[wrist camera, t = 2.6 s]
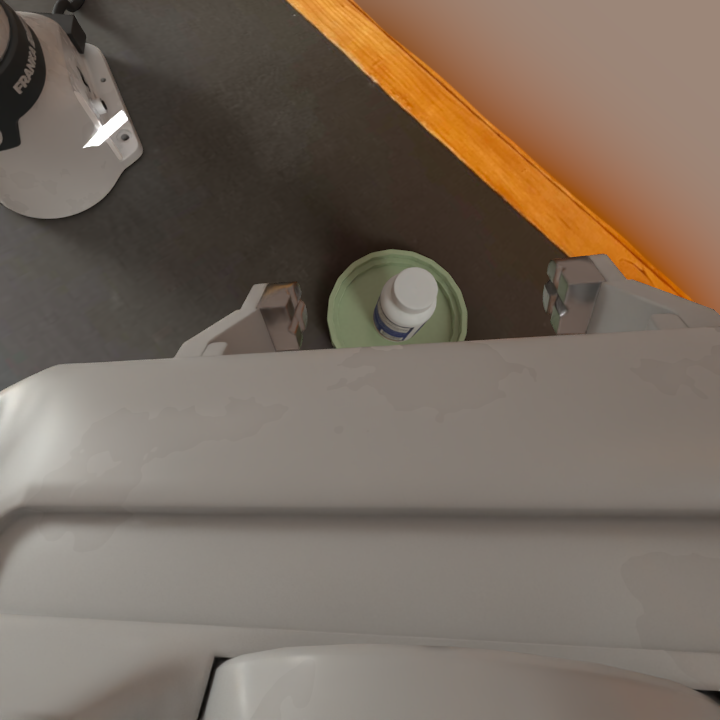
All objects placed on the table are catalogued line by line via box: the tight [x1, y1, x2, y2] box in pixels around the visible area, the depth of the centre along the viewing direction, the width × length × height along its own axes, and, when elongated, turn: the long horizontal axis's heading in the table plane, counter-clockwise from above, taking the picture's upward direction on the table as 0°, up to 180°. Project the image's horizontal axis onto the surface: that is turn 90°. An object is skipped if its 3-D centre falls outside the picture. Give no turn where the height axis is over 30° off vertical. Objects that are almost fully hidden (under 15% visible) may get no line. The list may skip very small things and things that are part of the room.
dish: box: [327, 249, 467, 349], centre depth 43 cm, size 15×15×2 cm
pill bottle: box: [373, 267, 438, 342], centre depth 39 cm, size 5×5×10 cm
